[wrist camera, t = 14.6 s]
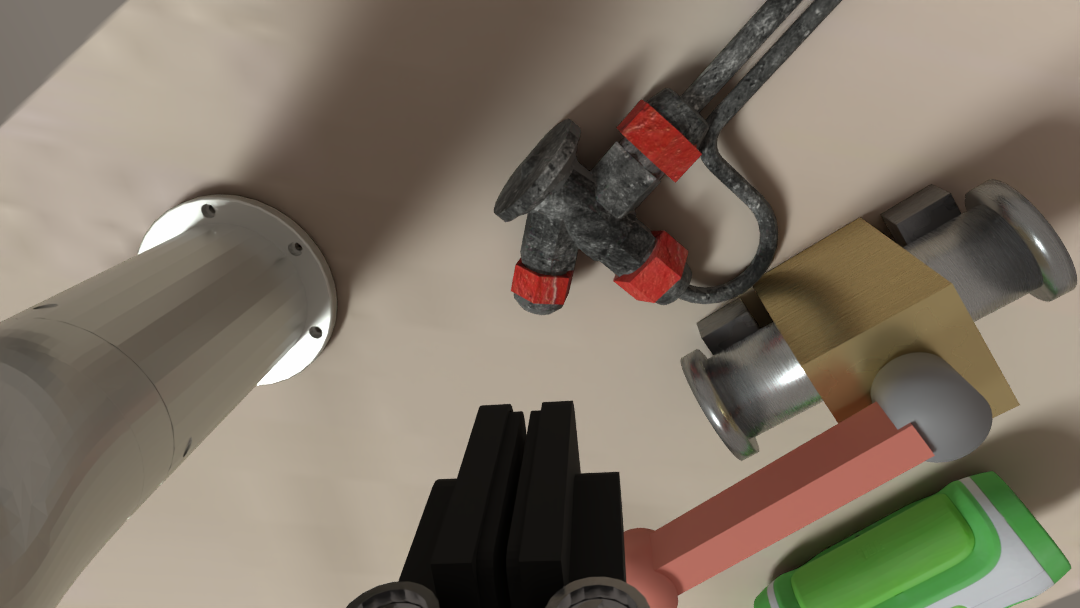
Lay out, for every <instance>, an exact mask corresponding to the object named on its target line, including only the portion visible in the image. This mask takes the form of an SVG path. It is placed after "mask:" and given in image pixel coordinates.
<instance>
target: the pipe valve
mask: <svg viewBox="0 0 1080 608" xmlns="http://www.w3.org/2000/svg"><path fill="white" fill-rule="evenodd" d="M965 206H966V210H967V211H966V212H964V213H962V214H961V212H960V210H959V208H958V206H957V205H956V203H955V201H954V199H953V197H952V195H951V193H949V192H947V191H945V190H943V189H940V188H938V187H936V186H934V185H932V184H931V185H930V186H928V187H926V188H925V189H923V190H921V191H919V192H918V193H916V194H914V195H913V196H911V197H909V198H908V199H906V200H904V201H903V202H901V203H899V204H897V205H896V206H894V207H892V208H891V209H889V210H887V211H886V212H884V213H882V214H881V216H882V218H883V220H884V222H885V223H886V225H887V227H888V229H889V230H890V232H891V234H892V236H893V237H894V239H895V241H896V243H897V244H896V243H895V242H894V241H892V240H891V239H889V238H888V237H887V236H885V235H884V234H882V233H881V232H880V231H878V230H877V229H876V228H874V227H873V226H871V225H870V224H869V223H867V222H866V221H864V220H863V219H862V218H858V219H856V220H855V221H853V222H851V223H850V224H848V225H846V226H844V227H843V228H841V229H839V230H838V231H836V232H834V233H833V234H831V235H829V236H828V237H826V238H824V239H823V240H821V241H819V242H818V243H816V244H814V245H813V246H811V247H809V248H808V249H806V250H804V251H803V252H801V253H799V254H797V255H796V256H794V257H792V258H791V259H789V260H787V261H786V262H784V263H782V264H781V265H779V266H777V267H776V268H774V269H772V270H771V271H769V272H767V273H766V274H764V275H762V277H761V278H760V279H759V280H758V281H757V282H756V283H755V284H754V285H753V288H754V289H755V291H756V293H757V294H758V296H759V298H760V299H761V301H762V303H763V304H764V306H765V308H766V309H767V311H768V313H769V314H770V316H771V318H772V319H773V321H774V322H772V323H770V324H768V325H767V326H765V327H763V328H761V329H760V327H759V326H758V324H757V323H756V321H755V320H754V318H753V317H752V315H751V314H750V312H749V311H748V309H747V308H746V306H745V305H744V303H743V302H742V300H741V299H740V298H739V299H737V300H735V301H734V302H732V303H730V304H728V305H727V306H725V307H723V308H722V309H720V310H718V311H717V312H715V313H713V314H712V315H710V316H708V317H706V318H705V319H703V320H701V321H700V322H698V323H697V326H698V329H699V332H700V335H701V338H702V339H703V341H704V342H705V344H706V345H707V347H708V348H709V349H710V351H711V352H712V354H713V355H714V356H712V357H711V358H709V359H707V357H706V356H705V355H704V354H703V353H702V352H701V351H700V350H698V349H696V350H695V351H693V352H691V353H689V354H688V355H686V356H684V357H682V358H681V366H682V369H683V372H684V374H685V377H686V379H687V381H688V384H689V386H690V388H691V390H692V392H693V394H694V396H695V398H696V399H697V401H698V403H699V405H700V407H701V408H702V410H703V412H704V414H705V415H706V417H707V418H708V420H709V422H710V423H711V425H712V426H713V428H714V429H715V431H716V432H717V434H718V435H719V437H720V438H721V440H722V441H723V442H724V444H725V445H726V446H727V447H728V449H729V450H730V451H731V452H732V453H733V455H734V456H735V457H737V458H738V459H739V460H741V461H742V460H744V459H746V458H748V457H750V456H752V455H754V454H756V453H758V452H759V446H758V443H757V441H756V438H755V437H756V436H758V435H760V434H761V433H763V432H765V431H767V430H769V429H771V428H773V427H775V426H777V425H779V424H780V423H782V422H784V421H786V420H788V419H790V418H792V417H794V416H796V415H798V414H800V413H801V412H803V411H805V410H807V409H809V408H811V407H813V406H815V405H817V404H819V403H821V402H822V401H824V402H825V404H826V405H827V407H828V408H829V410H830V411H831V413H832V415H833V416H834V418H835V419H836V421H837V422H838V424H839V423H840V422H842V421H844V420H845V419H847V418H849V417H851V416H852V415H854V414H856V413H857V412H859V411H861V410H863V409H864V408H866V407H868V406H869V405H871V404H873V403H872V400H871V386H872V383H873V380H874V378H875V377H876V375H877V373H878V372H879V371H880V370H881V369H882V368H883V367H884V366H885V365H886V364H887V363H889V362H890V361H891V360H893V359H895V358H897V357H899V356H902V355H905V354H909V353H917V352H923V353H930V354H934V355H936V356H939V357H941V358H942V359H944V360H945V361H946V362H947V363H949V364H950V365H951V366H952V367H953V368H954V369H955V370H956V371H957V372H958V373H959V374H960V375H961V376H962V377H963V378H964V379H965V380H966V381H967V382H968V383H970V384H971V385H972V386H973V387H974V388H975V389H976V390H977V391H978V392H979V393H980V394H981V395H982V396H983V397H984V398H985V399H986V400H987V402H988V403H989V405H990V408H991V410H992V418H994V417H996V416H998V415H1000V414H1002V413H1004V412H1006V411H1008V410H1010V409H1013V408H1015V407H1017V406H1019V405H1020V404H1019V403H1018V401H1017V399H1016V397H1015V395H1014V394H1013V392H1012V390H1011V388H1010V386H1009V385H1008V383H1007V381H1006V379H1005V377H1004V376H1003V374H1002V372H1001V370H1000V368H999V367H998V365H997V363H996V361H995V359H994V358H993V356H992V354H991V352H990V350H989V348H988V347H987V345H986V343H985V341H984V339H983V338H982V336H981V334H980V332H979V330H978V329H977V327H976V325H975V323H974V322H975V321H977V320H979V319H981V318H983V317H985V316H986V315H988V314H990V313H992V312H994V311H996V310H998V309H1000V308H1002V307H1004V306H1006V305H1007V304H1009V303H1011V302H1013V301H1015V300H1017V299H1019V298H1021V297H1023V296H1025V295H1026V294H1028V293H1030V294H1031V295H1033V296H1034V297H1036V298H1038V299H1040V300H1042V301H1052V300H1054V299H1056V298H1058V297H1060V296H1062V295H1064V294H1066V293H1068V292H1070V291H1071V290H1073V289H1074V288H1075V287H1076V285H1077V274H1076V270H1075V267H1074V264H1073V262H1072V259H1071V257H1070V255H1069V253H1068V251H1067V249H1066V247H1065V246H1064V244H1063V243H1062V241H1061V239H1060V238H1059V236H1058V235H1057V233H1056V232H1055V230H1054V229H1053V228H1052V226H1051V225H1050V224H1049V223H1048V221H1047V220H1046V219H1045V218H1044V217H1043V215H1042V214H1041V213H1040V212H1039V211H1038V210H1037V209H1036V208H1035V207H1034V206H1033V205H1032V204H1031V203H1030V202H1029V201H1028V200H1027V199H1026V198H1025V197H1024V196H1023V195H1021V194H1020V193H1019V192H1018V191H1016V190H1015V189H1013V188H1012V187H1010V186H1009V185H1007V184H1005V183H1003V182H1001V181H998V180H988V181H986V182H984V183H983V184H981V185H979V186H978V187H976V188H974V189H972V190H971V191H969V192H967V193H966V195H965Z"/></svg>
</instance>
